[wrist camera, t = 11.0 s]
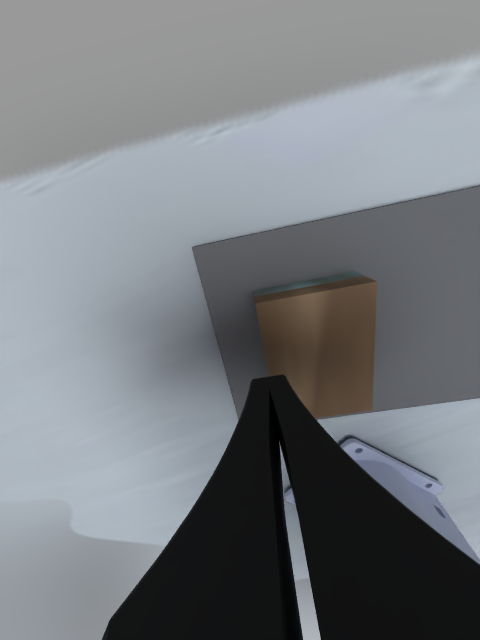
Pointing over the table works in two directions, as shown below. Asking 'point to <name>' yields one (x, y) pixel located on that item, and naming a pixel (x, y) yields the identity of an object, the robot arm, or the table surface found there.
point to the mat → (392, 293)
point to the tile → (322, 340)
